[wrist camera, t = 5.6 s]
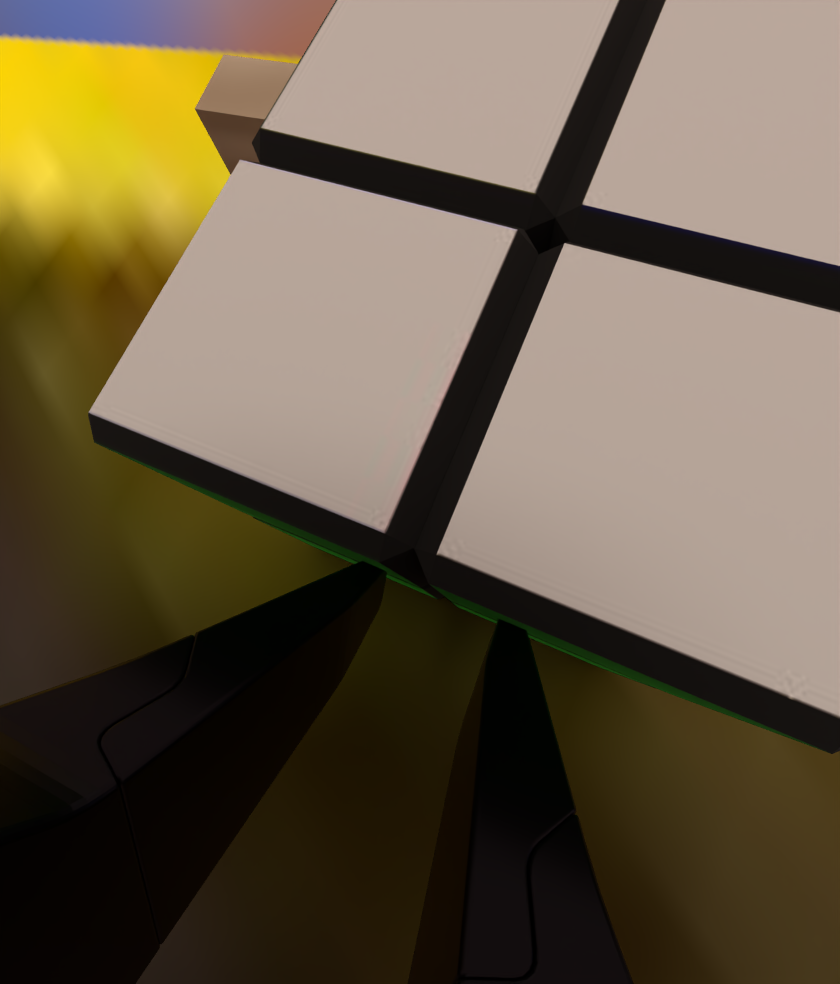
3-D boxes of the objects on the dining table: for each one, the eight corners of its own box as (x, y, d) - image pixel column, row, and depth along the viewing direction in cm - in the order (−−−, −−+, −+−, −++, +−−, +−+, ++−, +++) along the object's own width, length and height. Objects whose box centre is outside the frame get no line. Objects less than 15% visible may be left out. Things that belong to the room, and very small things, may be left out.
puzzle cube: (704, 375, 16) (1046, 6, 6) (609, 672, 14) (899, 783, 4) (423, 293, 18) (365, -84, 8) (306, 544, 16) (55, 428, 6)
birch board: (843, 383, 15) (1063, 240, 10) (279, 264, 19) (194, 108, 13) (851, 328, 16) (1065, 161, 10) (297, 222, 19) (223, 54, 14)
